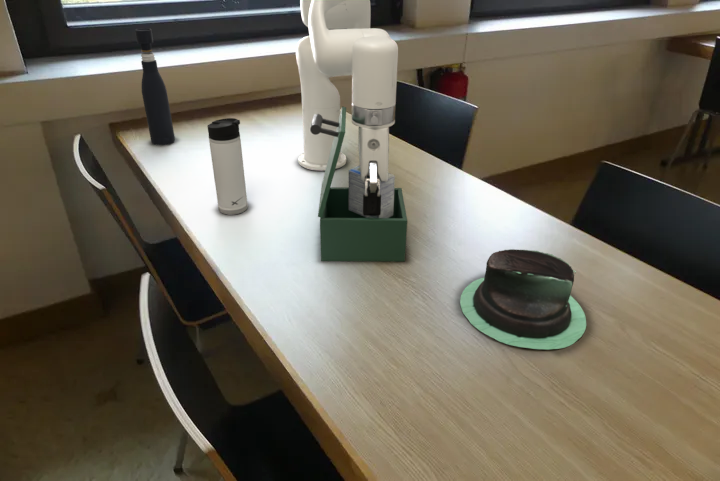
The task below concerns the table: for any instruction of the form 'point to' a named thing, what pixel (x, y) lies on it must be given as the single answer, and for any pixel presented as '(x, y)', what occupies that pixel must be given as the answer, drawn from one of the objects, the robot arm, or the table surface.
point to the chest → (361, 231)
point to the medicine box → (359, 189)
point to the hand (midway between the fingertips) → (370, 203)
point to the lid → (334, 152)
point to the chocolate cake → (525, 301)
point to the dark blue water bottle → (154, 93)
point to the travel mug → (228, 165)
